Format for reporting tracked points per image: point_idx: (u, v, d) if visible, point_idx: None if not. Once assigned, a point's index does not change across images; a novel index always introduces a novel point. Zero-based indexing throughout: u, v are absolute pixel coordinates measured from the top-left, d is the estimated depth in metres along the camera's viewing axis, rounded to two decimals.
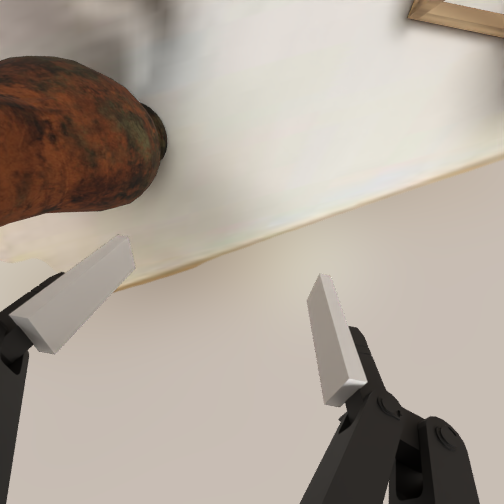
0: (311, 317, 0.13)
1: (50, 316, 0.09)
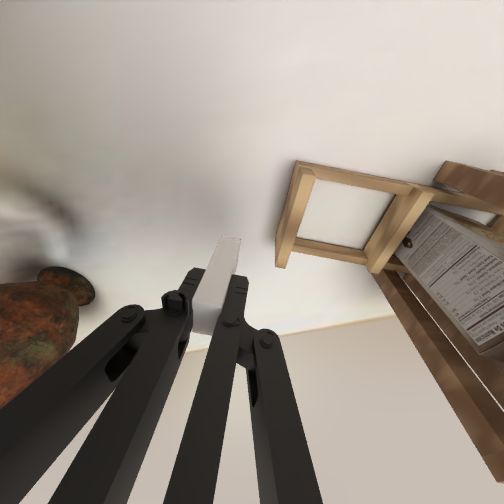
0: None
1: None
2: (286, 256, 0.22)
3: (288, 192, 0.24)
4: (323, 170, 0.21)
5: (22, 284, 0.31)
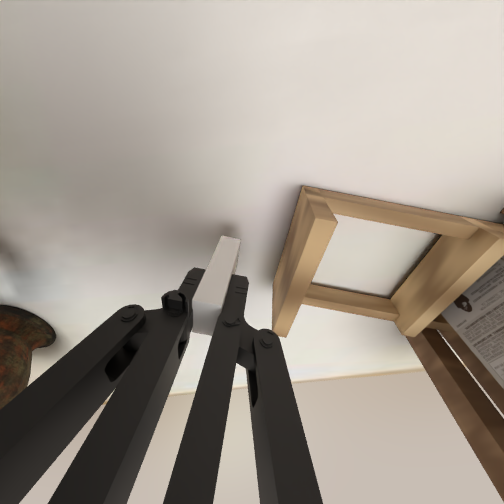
0: None
1: None
2: (288, 323, 0.15)
3: (290, 227, 0.17)
4: (343, 202, 0.14)
5: None
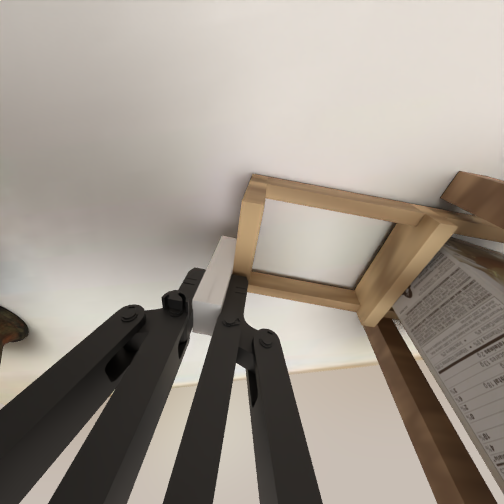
0: None
1: None
2: None
3: None
4: (287, 189, 0.14)
5: None
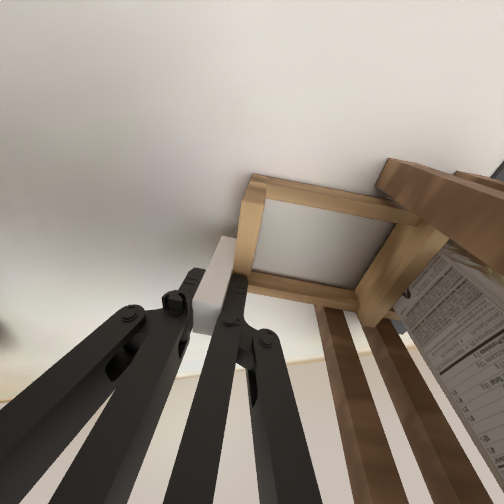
0: None
1: None
2: None
3: None
4: (287, 189, 0.14)
5: None
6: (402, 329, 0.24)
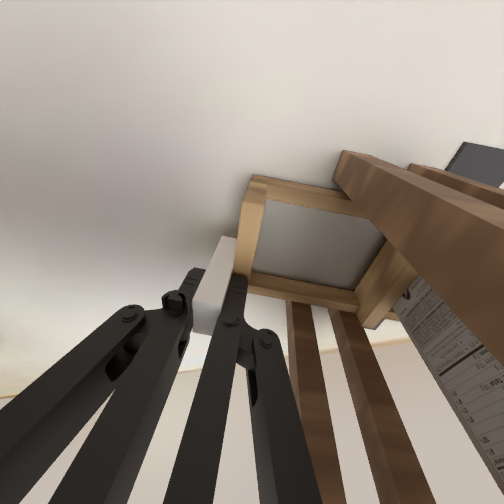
0: None
1: None
2: None
3: None
4: (288, 190, 0.14)
5: None
6: None
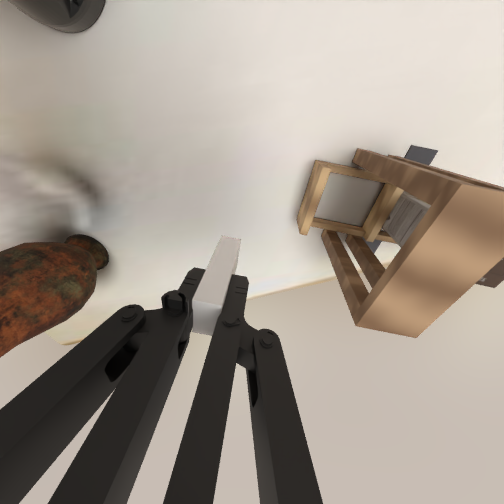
0: None
1: None
2: (308, 225, 0.32)
3: None
4: (334, 166, 0.31)
5: (57, 243, 0.40)
6: (372, 251, 0.41)
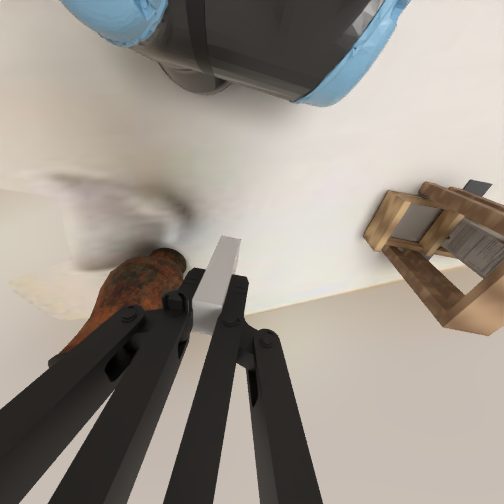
0: None
1: None
2: (382, 244, 0.39)
3: (380, 207, 0.41)
4: (407, 197, 0.38)
5: (156, 257, 0.48)
6: None
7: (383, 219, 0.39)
